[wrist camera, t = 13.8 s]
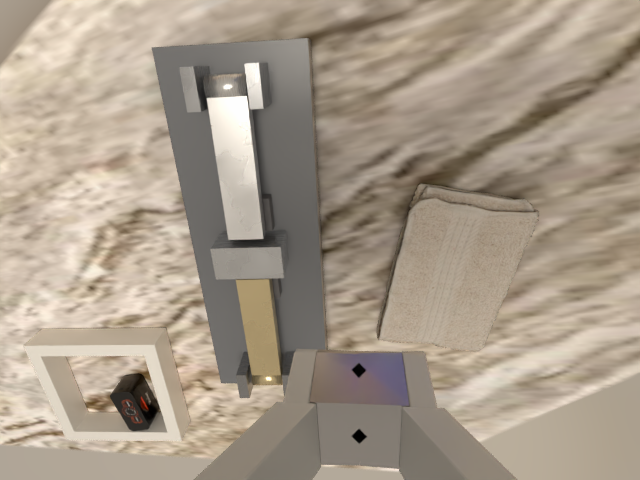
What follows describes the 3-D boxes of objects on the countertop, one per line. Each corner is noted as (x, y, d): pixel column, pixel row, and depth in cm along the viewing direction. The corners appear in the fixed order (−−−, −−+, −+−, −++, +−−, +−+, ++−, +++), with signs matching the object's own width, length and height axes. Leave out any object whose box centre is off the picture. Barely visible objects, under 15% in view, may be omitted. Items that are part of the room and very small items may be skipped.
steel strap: (248, 72, 29) (243, 72, 28) (266, 232, 34) (262, 240, 33) (209, 75, 29) (201, 74, 28) (232, 233, 34) (227, 241, 33)
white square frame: (165, 327, 45) (154, 344, 42) (190, 420, 51) (181, 441, 48) (42, 328, 46) (23, 345, 43) (81, 420, 52) (66, 440, 49)
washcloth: (534, 194, 37) (550, 205, 34) (478, 344, 44) (487, 363, 41) (409, 177, 37) (415, 186, 34) (374, 330, 44) (376, 348, 41)
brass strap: (271, 270, 36) (268, 281, 34) (284, 375, 42) (281, 388, 40) (239, 271, 36) (234, 281, 35) (256, 376, 42) (253, 389, 40)
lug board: (310, 40, 32) (303, 35, 26) (328, 364, 46) (326, 408, 40) (167, 48, 32) (129, 45, 27) (228, 364, 47) (211, 408, 41)
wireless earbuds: (145, 414, 51) (133, 436, 48) (122, 373, 48) (108, 394, 46) (177, 410, 51) (167, 432, 48) (156, 368, 48) (144, 389, 45)
